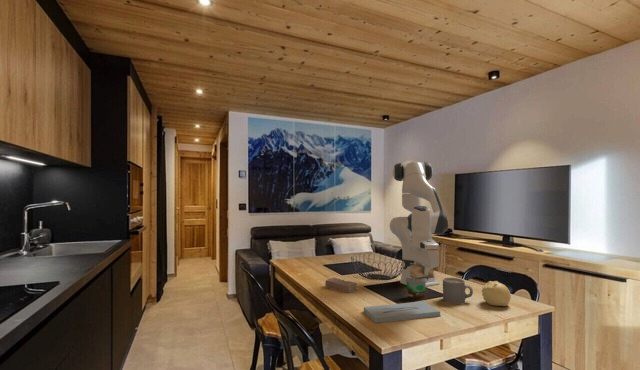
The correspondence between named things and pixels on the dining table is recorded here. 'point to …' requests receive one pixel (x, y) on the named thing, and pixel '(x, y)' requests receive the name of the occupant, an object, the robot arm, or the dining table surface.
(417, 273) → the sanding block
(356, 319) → the dining table surface
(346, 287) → the brick
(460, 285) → the coffee mug
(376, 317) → the board
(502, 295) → the pale yellow rounded lump
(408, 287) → the food container
